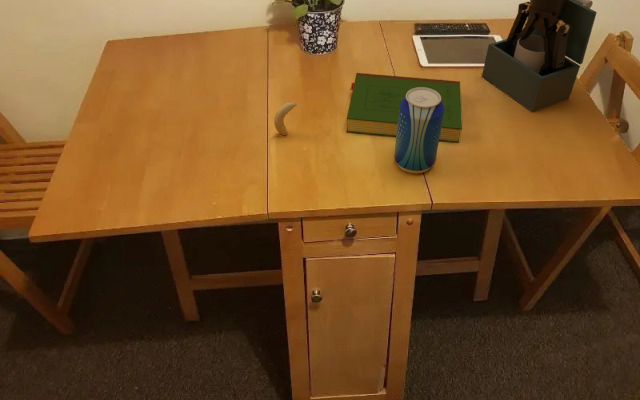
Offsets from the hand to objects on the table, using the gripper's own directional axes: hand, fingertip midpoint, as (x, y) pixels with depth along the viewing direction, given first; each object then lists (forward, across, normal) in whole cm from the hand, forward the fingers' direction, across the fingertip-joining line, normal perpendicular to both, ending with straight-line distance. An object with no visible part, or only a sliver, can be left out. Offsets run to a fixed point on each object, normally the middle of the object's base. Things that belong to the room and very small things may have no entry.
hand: (526, 81), depth 139 cm
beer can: (+2, +11, -40) cm, 42 cm away
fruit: (+2, -10, -59) cm, 60 cm away
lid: (-14, 0, +5) cm, 14 cm away
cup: (0, 0, 0) cm, 0 cm away
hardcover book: (+2, -5, -32) cm, 32 cm away
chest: (+2, 0, 0) cm, 2 cm away
